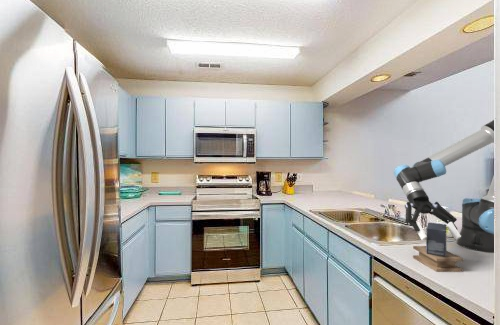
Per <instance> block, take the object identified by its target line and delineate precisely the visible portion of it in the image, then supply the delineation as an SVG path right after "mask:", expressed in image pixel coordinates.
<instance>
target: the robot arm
mask: <svg viewBox="0 0 500 325" xmlns="http://www.w3.org/2000/svg"><path fill="white" fill-rule="evenodd" d="M491 144H495V143H494V119H493V120H491V121H489V122H488V123H486V124H484V125H482V126H481V127H480V129H479V130H478V131H476V132H474V133H472V134H470V135H467V136H466V137H464V138H462V139H461V140H458V141H457V142H455V143H453V144H451V145H449V146H447V147H445V148H443V149H441V150H440V151H437V152H435V153H434V154H432V155H430V156H429V157H426V158H424V159H422V160H420V161H416V162H415V163H414V164H413V165H412V167H410V166H409V165H408V164H401V165H398V166H397V167H395V169H394V170H393V174H394V176H395V179H396V181H397V182H398V185H399V186H400V188H401V190H402V192H403V194H404V195H405V197H406V199H407V202H406V203H405V204H404V208H405V224H407V225H408V224H409V226H410V227H413V230H414V232H417V234H418V236H419V238H420V240H421V241H425V240H426V237H427V236H426V232H425V230H424V229H423V227H422V225H421V223H420V222H419V221H418V219H419V216H420V214H429V215H433V217H436V218H437V219H438V220H441V222H443V223H444V224H446V229H448V231H449V232H450V234H451V235H452V237H453V239H454V240H455V241H456V244H457V245H459V246H461V247H464V248H466V249H469V250H474V251H479V252H486V253H495V252H494V175H493V177H492V180H491V183H490V186H489V188H488V192H487V194H486V195H485V196H483V197H481V198H467V197H466V198H463V199H462V203H461V206H462V207H461V229H460V232H459V231H458V227H457V226H456V224H455V223H456V221H457V220H458V219H457V218H456V217H455V216H454V215H452V214H451V213H450V212H449V211H448V210H446V209H445V208H444V207H443V206H442V205H441V204H440V203H439V202H438V201H435V202H433V203H432V202H431V201H430V199H429V196H428V193H427V192H426V191H425V189H424V188H423V186H422V184H421V183H422V182H425V181H428V180H431V179H435V178H439V177H442V176H444V175H447V168H446V166H449V165H451V164H452V163H455V162H457V161H458V160H460V159H463V158H465V157H467V156H470V155H471V154H473V153H474V152H476V151H478V150H481V149H483V148H485V147H487V146H489V145H491ZM412 208H413V209H414V212H413V211H412V210H413V209H412ZM412 212H413V215H412Z"/></svg>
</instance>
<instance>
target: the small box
mask: <svg viewBox="0 0 500 325" xmlns="http://www.w3.org/2000/svg"><path fill="white" fill-rule="evenodd" d="M446 225H447V223H436V222H435V223H434V222H428V223H427V226H426V232H425V234H426V236H427V237H426V238H425V240H426V241H425V242H426V243H425V244H426V245H425V246H426V251H427V254H431V255H436V256H441V257H446V252H447V251H448V250H447V248H448V247H447V226H446Z"/></svg>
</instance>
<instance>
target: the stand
mask: <svg viewBox="0 0 500 325" xmlns="http://www.w3.org/2000/svg"><path fill="white" fill-rule="evenodd" d="M412 248H413V250H415V251H417V252H418V255H415V254H414V255H412V258H413V259H414V260H416V261H418V262H419V263H421V264H423V265H425V266H426V267H428V268H429V269H431V270H433V271H434V272H436V273H444V272H446V273H448V272H454V273H455V272H457V273H458V272H460V273H462V272H463V270H464V268H462V267H460V266H458V265H456V262H464V258H463V257H461V256H459V255H456V254H454V253H452V252H450V251H449V250H447V252H446V257H441V256H436V255H431V254H427V251H426V245H413V247H412Z"/></svg>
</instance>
